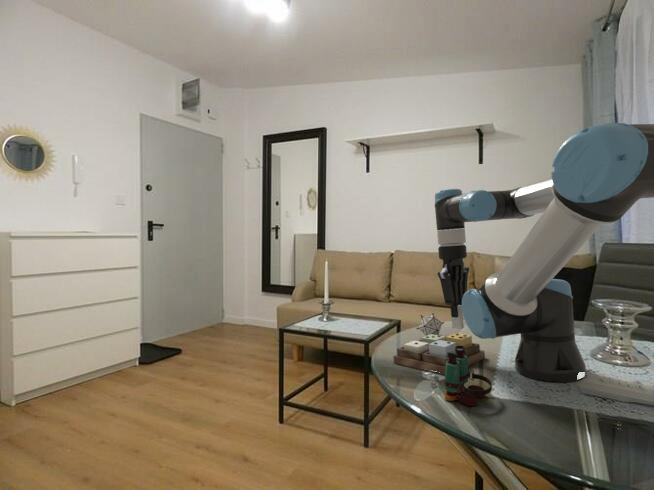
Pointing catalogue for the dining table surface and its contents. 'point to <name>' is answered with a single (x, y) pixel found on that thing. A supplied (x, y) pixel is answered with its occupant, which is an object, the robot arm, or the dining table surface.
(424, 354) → the wooden compartment tray
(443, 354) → the button two
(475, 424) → the dining table surface
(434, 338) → the button three
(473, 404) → the binoculars
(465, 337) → the button four
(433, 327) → the game die
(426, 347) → the button one
